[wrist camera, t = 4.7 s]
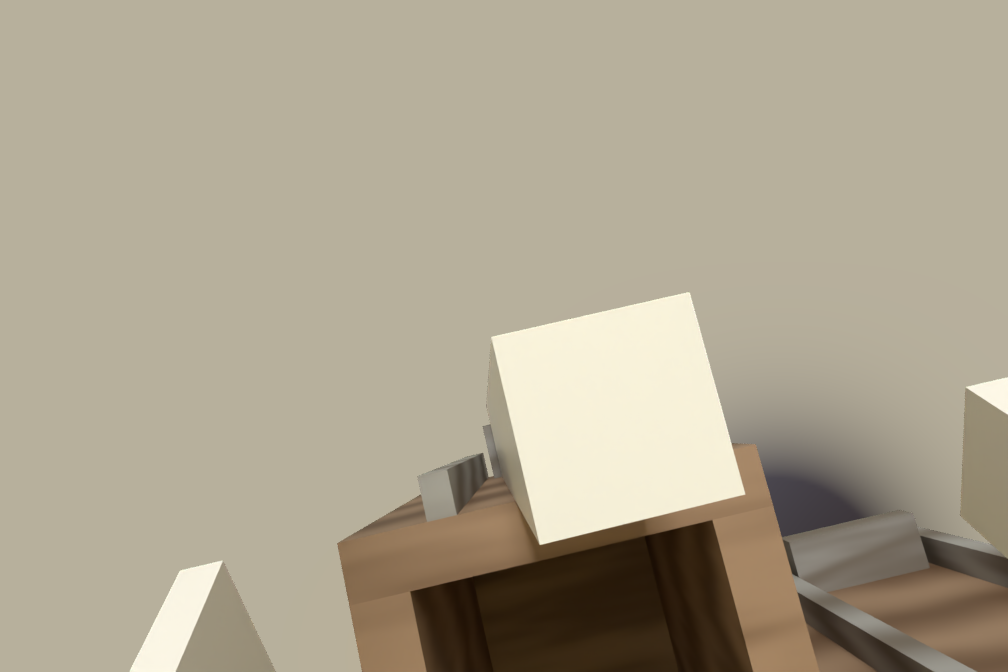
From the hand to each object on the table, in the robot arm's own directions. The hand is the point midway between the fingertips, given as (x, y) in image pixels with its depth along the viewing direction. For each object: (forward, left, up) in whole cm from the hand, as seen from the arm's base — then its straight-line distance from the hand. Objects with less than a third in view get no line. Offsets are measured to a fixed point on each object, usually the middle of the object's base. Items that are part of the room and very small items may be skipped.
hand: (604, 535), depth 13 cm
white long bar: (-3, +13, 0) cm, 14 cm away
